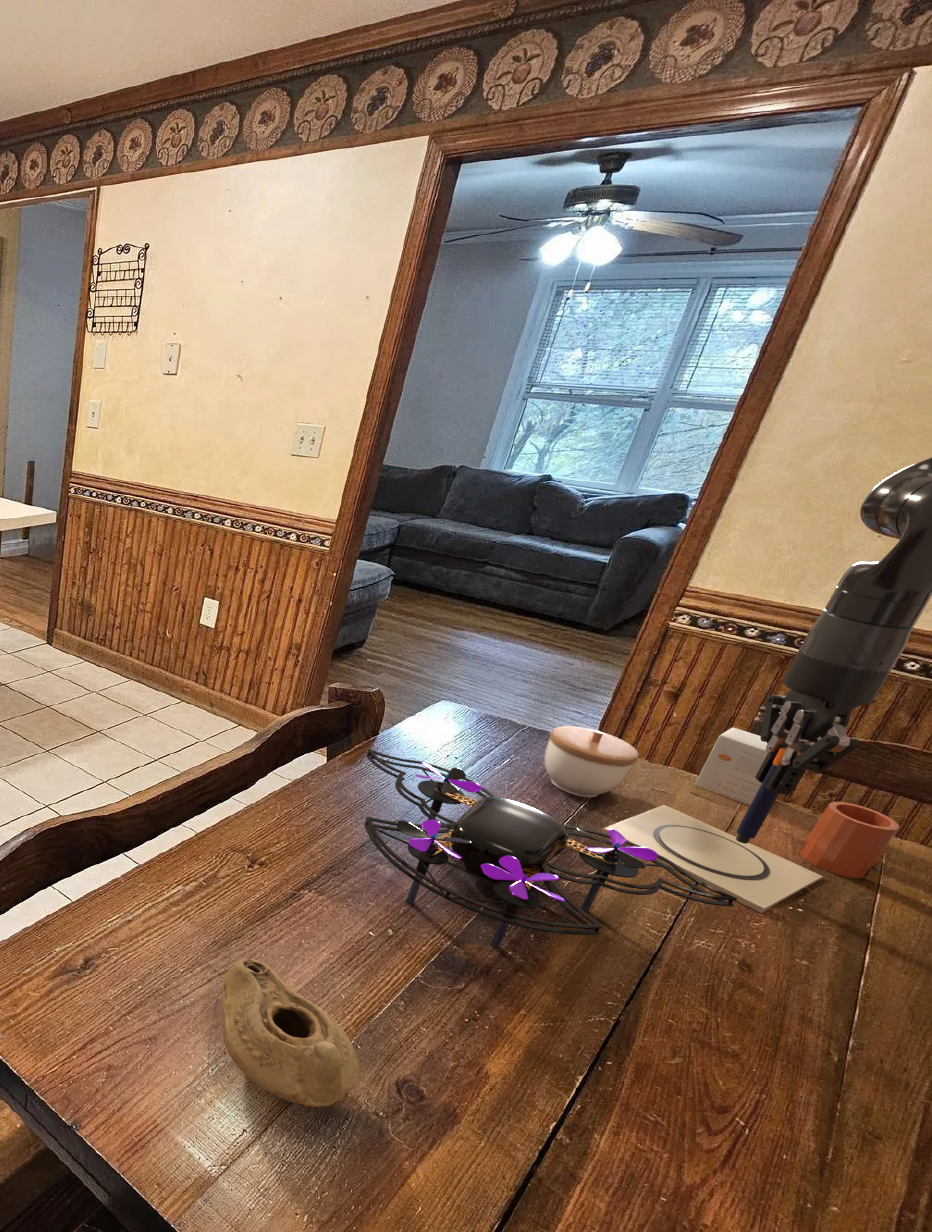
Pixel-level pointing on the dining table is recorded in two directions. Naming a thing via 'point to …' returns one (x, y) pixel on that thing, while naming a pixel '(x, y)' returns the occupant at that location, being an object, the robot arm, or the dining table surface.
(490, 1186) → the dining table surface
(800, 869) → the drawing pad
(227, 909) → the dining table surface
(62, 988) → the dining table surface
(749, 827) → the marker
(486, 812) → the drone
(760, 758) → the small box
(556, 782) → the trinket box
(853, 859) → the pen cup
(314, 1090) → the oil lamp
